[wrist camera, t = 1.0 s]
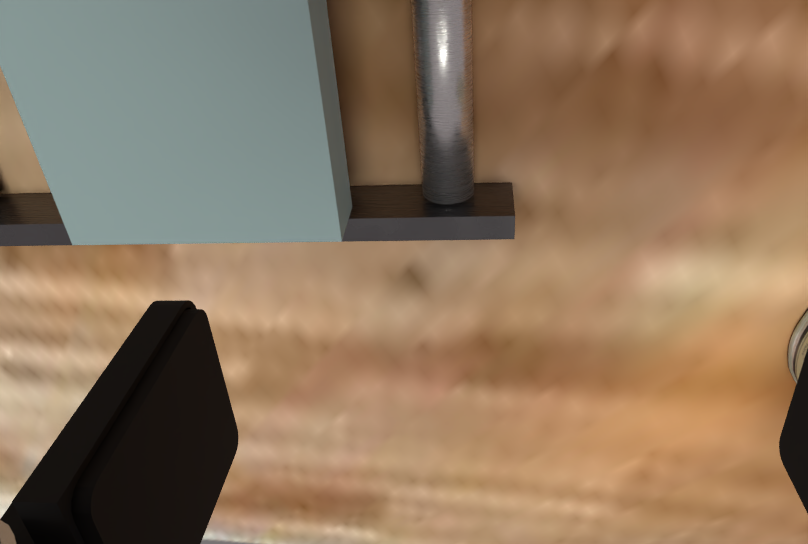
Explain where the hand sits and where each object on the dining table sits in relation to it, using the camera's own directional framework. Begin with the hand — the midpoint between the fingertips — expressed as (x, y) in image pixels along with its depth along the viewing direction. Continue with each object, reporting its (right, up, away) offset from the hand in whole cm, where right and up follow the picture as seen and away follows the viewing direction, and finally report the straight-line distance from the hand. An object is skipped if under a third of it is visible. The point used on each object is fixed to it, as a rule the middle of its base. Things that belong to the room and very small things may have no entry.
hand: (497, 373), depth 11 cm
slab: (-10, +10, +18) cm, 22 cm away
